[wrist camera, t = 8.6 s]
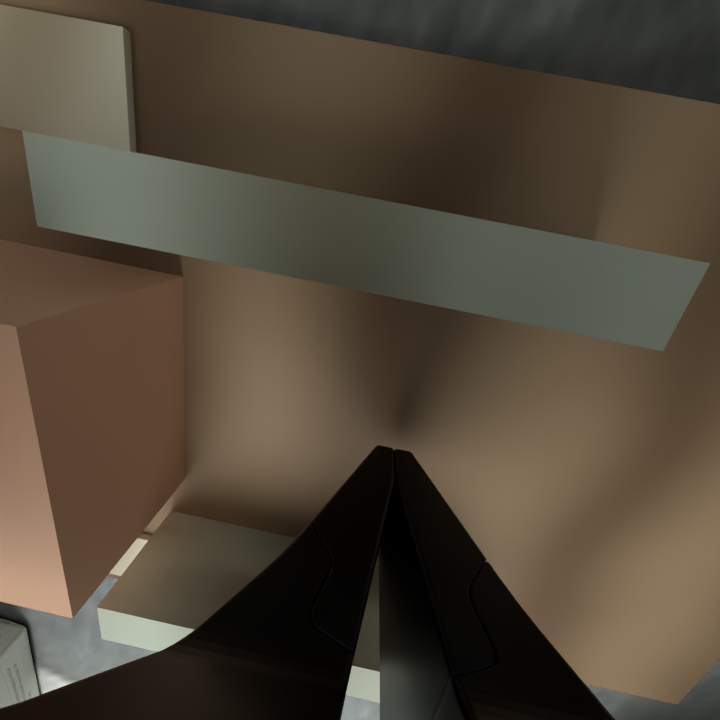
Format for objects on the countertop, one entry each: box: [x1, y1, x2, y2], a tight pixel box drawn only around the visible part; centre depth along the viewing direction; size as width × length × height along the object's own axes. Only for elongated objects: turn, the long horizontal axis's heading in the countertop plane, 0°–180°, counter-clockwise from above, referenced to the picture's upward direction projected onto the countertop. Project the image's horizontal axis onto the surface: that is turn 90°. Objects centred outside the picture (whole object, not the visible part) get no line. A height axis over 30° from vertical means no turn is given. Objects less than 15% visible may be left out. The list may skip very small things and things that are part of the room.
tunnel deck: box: [0, 0, 720, 705], centre depth 9 cm, size 29×16×6 cm, turn 80°
